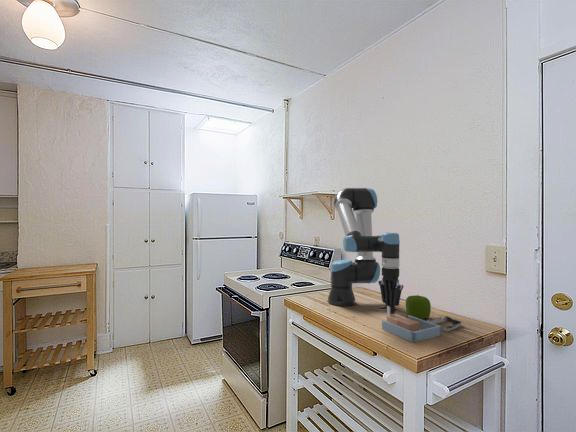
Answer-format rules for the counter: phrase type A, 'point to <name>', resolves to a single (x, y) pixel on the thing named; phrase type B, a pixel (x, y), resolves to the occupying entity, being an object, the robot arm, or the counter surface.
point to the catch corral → (427, 331)
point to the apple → (418, 306)
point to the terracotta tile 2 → (409, 324)
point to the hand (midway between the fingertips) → (390, 320)
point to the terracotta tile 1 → (395, 319)
